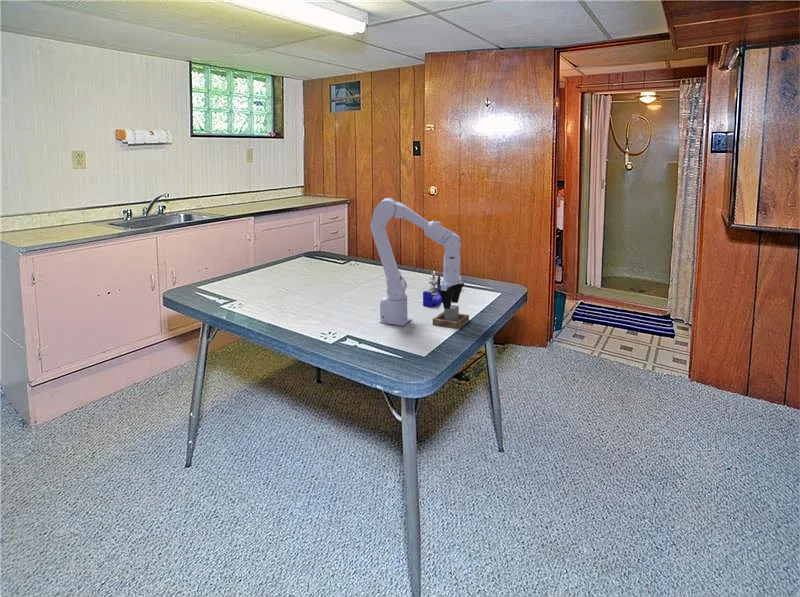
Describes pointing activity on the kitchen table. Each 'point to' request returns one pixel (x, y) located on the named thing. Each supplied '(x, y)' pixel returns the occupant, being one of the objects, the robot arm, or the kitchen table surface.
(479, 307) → the kitchen table surface
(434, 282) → the bike brake
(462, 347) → the kitchen table surface
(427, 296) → the cable clip
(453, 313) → the grey block
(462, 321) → the brown square frame
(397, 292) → the robot arm
